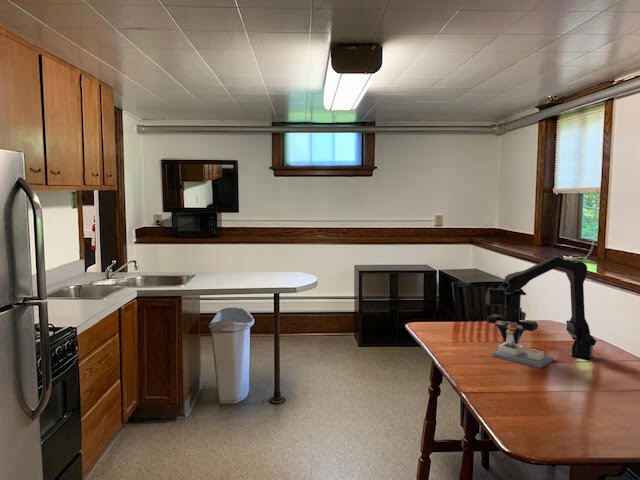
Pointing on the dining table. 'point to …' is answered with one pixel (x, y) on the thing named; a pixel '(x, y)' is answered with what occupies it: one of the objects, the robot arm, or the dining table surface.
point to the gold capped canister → (510, 337)
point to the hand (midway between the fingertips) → (511, 342)
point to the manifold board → (523, 355)
